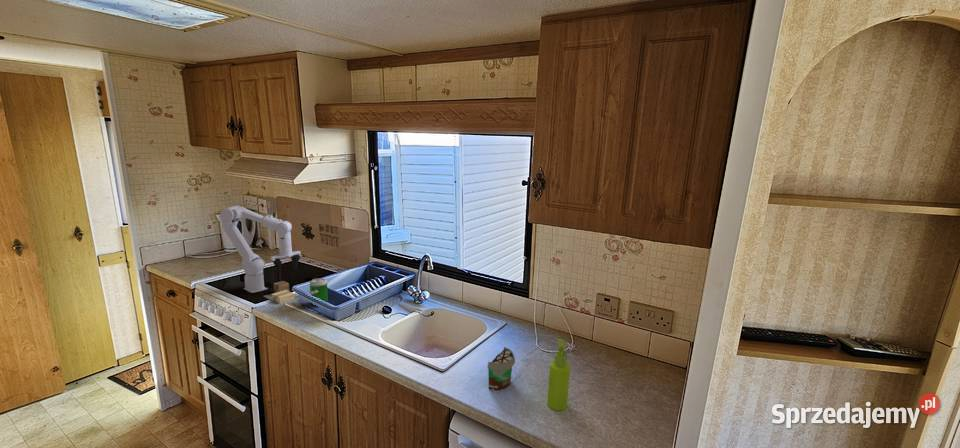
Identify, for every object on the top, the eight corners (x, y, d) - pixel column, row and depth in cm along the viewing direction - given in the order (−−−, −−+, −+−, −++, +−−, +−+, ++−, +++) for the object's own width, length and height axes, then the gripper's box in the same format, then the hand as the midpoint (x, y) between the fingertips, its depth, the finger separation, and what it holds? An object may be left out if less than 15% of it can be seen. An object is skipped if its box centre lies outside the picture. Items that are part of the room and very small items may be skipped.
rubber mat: (263, 297, 196) (263, 296, 196) (285, 291, 205) (285, 290, 205) (279, 305, 187) (278, 303, 187) (301, 298, 196) (301, 297, 196)
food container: (503, 397, 125) (505, 368, 123) (486, 391, 128) (487, 362, 126) (519, 378, 135) (521, 351, 133) (503, 372, 138) (504, 346, 136)
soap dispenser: (563, 396, 126) (568, 337, 122) (569, 410, 119) (574, 349, 116) (544, 396, 126) (549, 337, 122) (549, 410, 119) (554, 348, 115)
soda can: (324, 300, 195) (323, 276, 193) (330, 305, 189) (329, 281, 187) (308, 303, 190) (307, 279, 188) (313, 308, 185) (312, 284, 182)
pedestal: (272, 299, 192) (272, 293, 191) (286, 295, 197) (286, 290, 197) (280, 303, 188) (279, 297, 187) (294, 299, 193) (294, 293, 193)
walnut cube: (274, 292, 200) (273, 283, 199) (284, 290, 204) (283, 280, 203) (279, 295, 197) (278, 285, 196) (289, 292, 201) (288, 283, 200)
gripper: (274, 249, 193) (277, 276, 196) (303, 244, 204) (305, 269, 207) (267, 247, 197) (269, 273, 200) (295, 241, 209) (297, 267, 211)
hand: (287, 271), depth 204 cm, fingers open, 7 cm apart
